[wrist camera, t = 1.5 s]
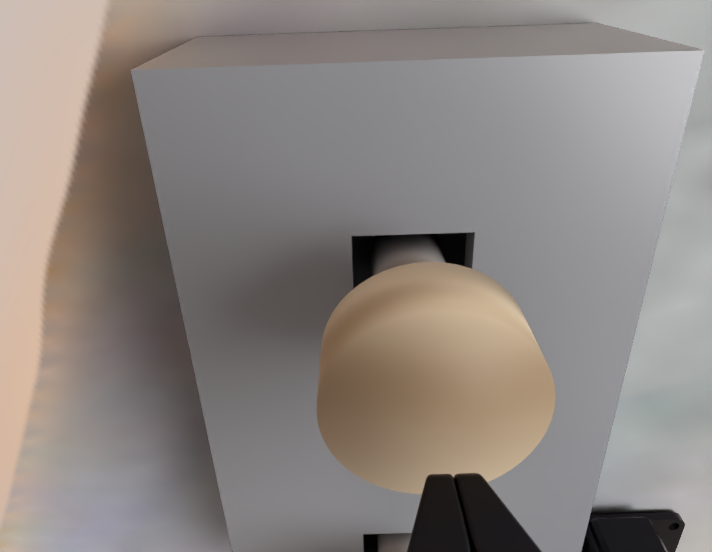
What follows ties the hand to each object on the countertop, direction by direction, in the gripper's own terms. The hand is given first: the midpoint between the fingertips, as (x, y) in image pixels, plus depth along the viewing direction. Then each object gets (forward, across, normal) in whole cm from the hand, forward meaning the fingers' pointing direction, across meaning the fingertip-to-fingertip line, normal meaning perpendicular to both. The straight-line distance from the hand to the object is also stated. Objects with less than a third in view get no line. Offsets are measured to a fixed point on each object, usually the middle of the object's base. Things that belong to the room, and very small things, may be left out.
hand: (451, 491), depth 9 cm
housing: (+12, 0, +6) cm, 14 cm away
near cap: (+8, 0, 0) cm, 8 cm away
